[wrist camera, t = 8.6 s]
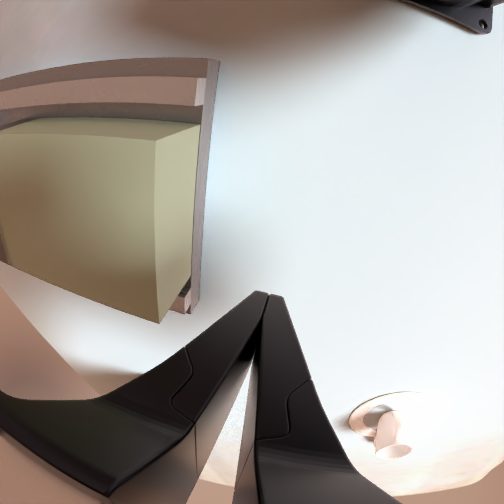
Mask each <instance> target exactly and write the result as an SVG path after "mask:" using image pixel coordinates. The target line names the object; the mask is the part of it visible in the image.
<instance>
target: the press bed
mask: <svg viewBox="0 0 504 504" xmlns="http://www.w3.org/2000/svg"><path fill="white" fill-rule="evenodd" d="M219 63H220V61H217V60H213V59H207V58H135V59H119V60H107V61H97V62H88V63H80V64H73V65H67V66H60V67H55V68H49V69H44V70H39V71H34V72H29V73H25V74H21V75H16V76H12V77H9V78H5V79H1V80H0V126H2V125H5V124H8V123H11V122H14V121H18V120H21V119H33V118H61V117H98V118H127V119H145V120H159V121H170V122H181V123H191V124H199V125H200V134H199V145H198V156H197V169H196V182H195V197H194V214H193V233H192V257H191V276H190V278H189V279H188V281H187V282H186V284H185V285H184V287H183V288H182V290H181V291H180V293H179V294H178V296H177V297H176V299H175V300H174V302H173V304H172V305H171V307H170V308H169V310H172V311H175V312H179V313H182V314H185V313H187V314H191V313H192V311H193V309H194V308H195V306H196V304H197V302H198V301H199V289H200V268H201V250H202V234H203V220H204V206H205V193H206V181H207V170H208V159H209V149H210V139H211V129H212V120H213V111H214V103H215V94H216V86H217V78H218V71H219Z"/></svg>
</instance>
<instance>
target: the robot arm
mask: <svg viewBox="0 0 504 504" xmlns="http://www.w3.org/2000/svg"><path fill="white" fill-rule="evenodd" d="M401 1H404V2H406V3H409V4H412V5H415V6H418V7H420V8H423V9H426V10H428V11H431V12H433V13H436V14H438V15H441V16H443V17H445V18H448V19H450V20H452V21H454V22H456V23H459V24H461V25H463V26H465V27H467V28H469V29H471V30H473V31H475V32H477V33H479V34H482V35H483V34H488V33H490V32H491V29H492V13H493V6H495V5H498V4H501V3H504V0H401ZM479 21H481V22H482V23H483V25H484V29H483V28H482V27H481V26H480V25H479ZM253 356H254V357H253ZM252 360H253V362H252ZM251 363H252V367H251V375H250V382H249V390H248V397H247V404H246V412H245V419H244V426H243V433H242V440H241V447H240V454H239V461H238V468H237V475H236V482H235V491H234V496H233V502H232V504H402V503H400V502H399V501H398V500H396V499H394V498H393V497H392V496H390V495H389V494H387V493H386V492H384V491H383V490H382V489H380V488H379V487H377V486H376V485H375V484H373V483H372V482H370V481H369V480H368V479H366V478H365V477H364V476H362V475H361V474H360V473H359V472H358V471H357V470H356V469H355V467H354V466H353V465H352V463H351V462H350V460H349V459H348V457H347V455H346V453H345V451H344V449H343V447H342V445H341V443H340V441H339V439H338V438H337V436H336V434H335V432H334V430H333V428H332V426H331V424H330V422H329V420H328V418H327V416H326V414H325V411H324V409H323V407H322V405H321V402H320V400H319V397H318V395H317V392H316V389H315V386H314V384H313V381H312V380H311V375H310V372H309V369H308V367H307V364H306V361H305V358H304V355H303V352H302V349H301V346H300V343H299V341H298V338H297V335H296V332H295V329H294V326H293V323H292V321H291V318H290V315H289V312H288V309H287V306H286V304H285V301H284V298H283V297H282V296H278V295H274V294H270V295H269V294H268V293H265V292H261V291H254V292H253V293H252V294H250V295H249V296H248V297H247V298H245V299H244V300H243V301H242V302H240V303H239V304H238V305H237V306H235V307H234V308H233V309H232V310H230V311H229V312H228V313H227V314H225V315H224V316H223V317H222V318H220V319H219V320H218V321H217V322H215V323H214V324H213V325H211V326H210V327H209V328H208V329H206V330H205V331H204V332H202V333H201V334H200V335H199V336H197V337H196V338H195V339H193V340H192V341H191V342H190V343H188V344H187V345H186V346H185V347H183V348H182V349H180V350H179V351H178V352H176V353H175V354H174V355H172V356H171V357H170V358H168V359H167V360H165V361H164V362H163V363H161V364H159V365H158V366H156V367H154V368H153V369H151V370H150V371H148V372H146V373H144V374H143V375H141V376H139V377H137V378H136V379H134V380H132V381H130V382H128V383H127V384H125V385H123V386H121V387H119V388H117V389H116V390H114V391H112V392H110V393H108V394H106V395H103V396H101V397H98V398H94V399H87V400H28V399H19V398H15V397H12V396H10V395H7V394H5V393H4V392H2V391H1V390H0V504H186V502H187V500H188V498H189V496H190V494H191V492H192V490H193V488H194V486H195V484H196V482H197V480H198V478H199V476H200V474H201V472H202V470H203V468H204V466H205V464H206V462H207V460H208V458H209V455H210V453H211V451H212V449H213V447H214V445H215V443H216V441H217V439H218V436H219V434H220V432H221V430H222V428H223V426H224V424H225V421H226V419H227V417H228V415H229V413H230V410H231V408H232V406H233V404H234V402H235V399H236V397H237V395H238V393H239V390H240V388H241V386H242V384H243V381H244V379H245V377H246V375H247V372H248V370H249V368H250V365H251Z"/></svg>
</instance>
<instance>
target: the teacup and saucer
mask: <svg viewBox="0 0 504 504" xmlns="http://www.w3.org/2000/svg"><path fill="white" fill-rule="evenodd" d="M395 400H411V401H415V402H418V403H419V404H421V405H422V407H423V413H422V415H421V417H420V418H419V419H418V420H417V421H415V422H414V423H412V424H411V425H409V424H408V421H407V419H406V416H405V415H404V413H403V412H401V411H396V410H395V411H389V412H386V413H384V414H383V415H382V416H381V418H380V420H379V422H378V427H377V430H373V429H370V428H368V427H367V426H366V425H365V424H364V422H363V418H364V416H365V414H366V413H367V412H368V411H369V410H371V409H372V408H374V407H376V406H378V405H380V404H383V403H386V402H390V401H395ZM435 411H436V403H435V401H434V399H433V398H431V397H430V396H428V395H426V394H423V393H418V392H399V393H392V394H387V395H384V396H380V397H377V398H374V399H372V400H370V401H368V402H366V403H364V404H362V405H361V406H359V407H358V408H357V409H356V410H355V411H354V412H353V413H352V414H351V416H350V419H349V424H350V427H351V428H352V429H353V430H354V431H355V432H357V433H359V434H361V435H364V436H368V437H375V439H374V446H375V448H376V450H375V455H376V457H378V458H380V459H395V458H399V457H402V456H405V455H407V454H408V453H410V452H411V451H412V441H411V433H410V432H411V431H414V430H416V429H418V428H419V427H421V426H423V425H424V424H426V423H427V422H428V421H429V420H430V419H431V418H432V417H433V415H434V413H435Z"/></svg>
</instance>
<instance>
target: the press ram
mask: <svg viewBox="0 0 504 504" xmlns="http://www.w3.org/2000/svg"><path fill="white" fill-rule="evenodd" d="M199 134H200V125H199V124H191V123H181V122H170V121H159V120H145V119H127V118H98V117H61V118H33V119H21V120H18V121H14V122H11V123H8V124H5V125H2V126H0V261H2V262H4V263H7V264H9V265H11V266H13V267H15V268H17V269H19V270H21V271H24V272H26V273H28V274H30V275H32V276H35V277H37V278H39V279H41V280H44V281H46V282H48V283H51V284H53V285H55V286H58V287H60V288H63V289H65V290H68V291H70V292H72V293H75V294H77V295H80V296H83V297H85V298H88V299H90V300H93V301H95V302H98V303H101V304H103V305H106V306H109V307H112V308H114V309H117V310H120V311H123V312H126V313H128V314H131V315H134V316H137V317H140V318H143V319H146V320H149V321H152V322H155V323H158V324H160V322H161V321H162V319H163V317H164V316H165V314H166V313H167V311H168V310H169V308H170V307H171V305H172V304H173V302H174V300H175V299H176V297H177V296H178V294H179V293H180V291H181V290H182V288H183V287H184V285H185V284H186V282H187V281H188V279H189V278H190V276H191V257H192V233H193V214H194V197H195V182H196V169H197V156H198V145H199Z"/></svg>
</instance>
